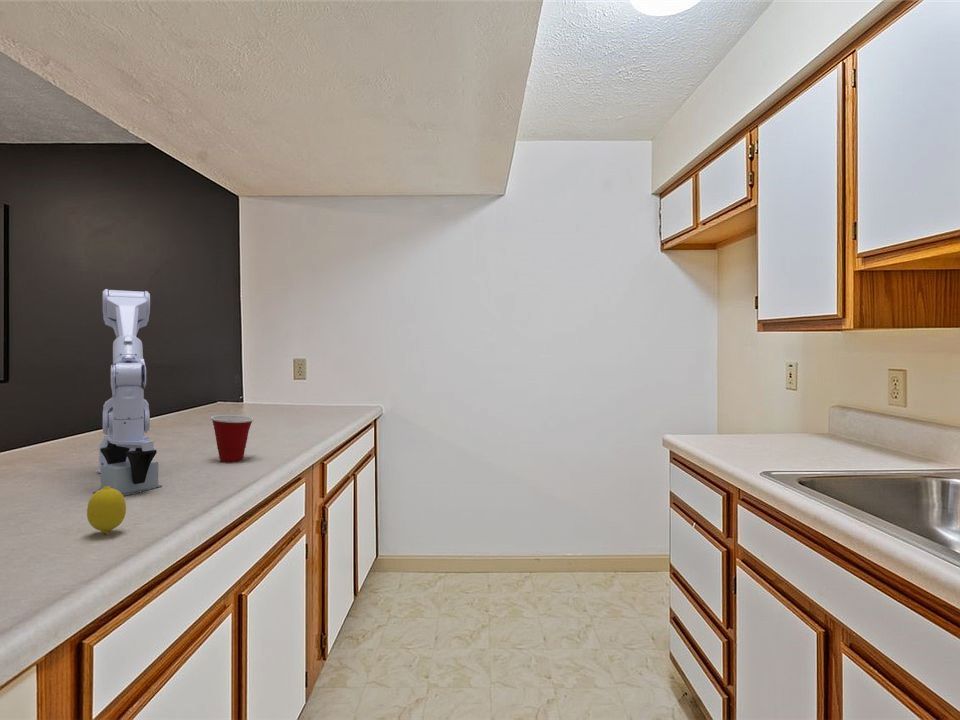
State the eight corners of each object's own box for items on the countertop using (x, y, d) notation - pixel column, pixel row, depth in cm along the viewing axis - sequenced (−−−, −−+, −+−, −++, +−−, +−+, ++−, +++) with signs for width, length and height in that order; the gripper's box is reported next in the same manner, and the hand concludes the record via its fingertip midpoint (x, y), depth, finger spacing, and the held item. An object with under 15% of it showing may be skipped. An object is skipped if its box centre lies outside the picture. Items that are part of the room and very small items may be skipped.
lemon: (98, 528, 103) (98, 482, 103) (132, 528, 103) (132, 482, 103) (79, 539, 97) (79, 490, 97) (115, 538, 98) (115, 490, 98)
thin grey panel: (93, 493, 126) (93, 492, 126) (135, 483, 135) (135, 482, 135) (120, 497, 123) (120, 496, 123) (161, 486, 132) (161, 485, 132)
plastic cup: (238, 465, 156) (238, 419, 156) (201, 463, 158) (201, 417, 158) (261, 457, 167) (261, 414, 166) (226, 455, 169) (227, 413, 168)
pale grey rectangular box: (100, 492, 127) (100, 465, 127) (142, 483, 135) (142, 458, 135) (116, 495, 124) (117, 468, 124) (158, 486, 132) (158, 461, 132)
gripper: (167, 418, 129) (166, 481, 129) (126, 413, 136) (126, 473, 136) (134, 422, 123) (134, 488, 123) (94, 417, 130) (94, 479, 130)
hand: (128, 481), depth 129 cm, fingers open, 7 cm apart
